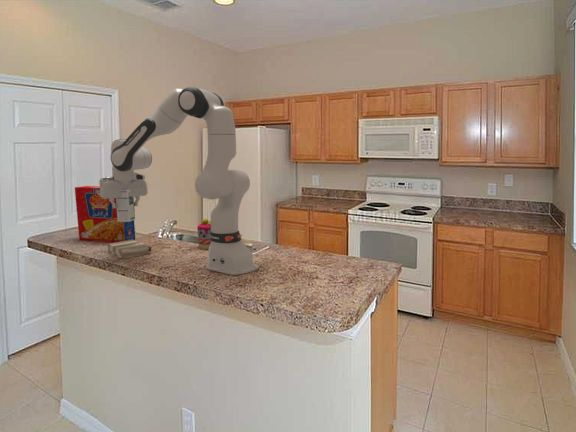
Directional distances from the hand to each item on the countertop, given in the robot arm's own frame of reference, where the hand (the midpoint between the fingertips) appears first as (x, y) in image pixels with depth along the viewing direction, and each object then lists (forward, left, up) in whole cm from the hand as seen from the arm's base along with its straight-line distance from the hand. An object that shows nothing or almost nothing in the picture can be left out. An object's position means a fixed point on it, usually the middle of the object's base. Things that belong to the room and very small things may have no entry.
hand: (125, 207), depth 173 cm
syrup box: (0, 0, -6) cm, 6 cm away
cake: (-16, -33, -22) cm, 43 cm away
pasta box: (+32, -3, -22) cm, 39 cm away
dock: (0, 0, -21) cm, 21 cm away
